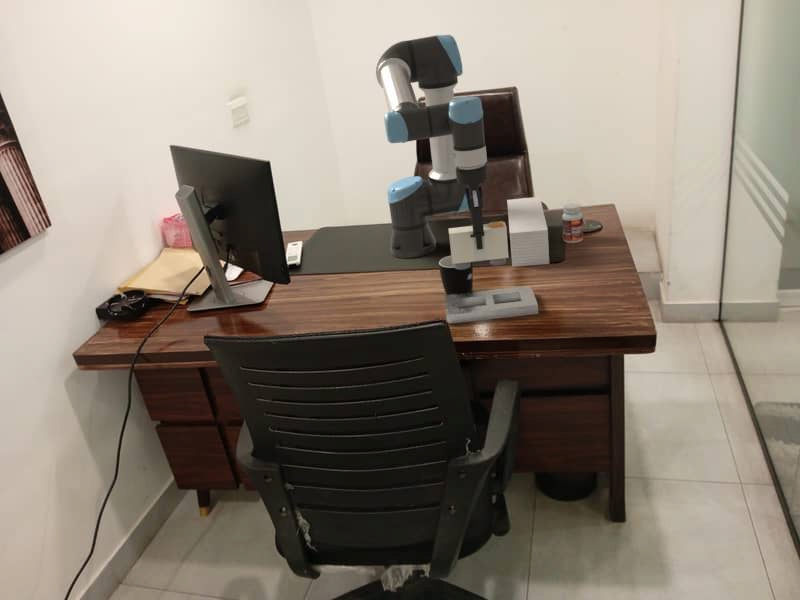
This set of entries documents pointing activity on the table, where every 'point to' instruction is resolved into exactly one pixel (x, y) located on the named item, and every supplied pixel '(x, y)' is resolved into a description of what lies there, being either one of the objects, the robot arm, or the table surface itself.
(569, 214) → the pill bottle
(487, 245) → the white block
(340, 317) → the table surface
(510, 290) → the rail
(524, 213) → the stack of papers
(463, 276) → the mug
